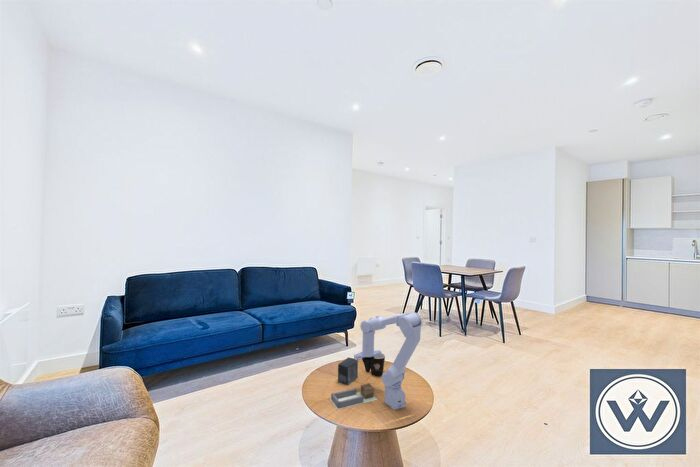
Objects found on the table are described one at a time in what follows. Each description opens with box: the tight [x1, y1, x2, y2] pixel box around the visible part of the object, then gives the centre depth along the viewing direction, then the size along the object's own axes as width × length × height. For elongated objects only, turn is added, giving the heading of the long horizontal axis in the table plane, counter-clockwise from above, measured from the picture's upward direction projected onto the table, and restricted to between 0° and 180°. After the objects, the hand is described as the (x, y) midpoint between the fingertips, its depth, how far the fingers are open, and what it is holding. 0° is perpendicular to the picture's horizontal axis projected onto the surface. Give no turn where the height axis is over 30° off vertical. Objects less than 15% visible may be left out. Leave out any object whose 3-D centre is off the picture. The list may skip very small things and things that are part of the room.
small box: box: [337, 357, 359, 386], centre depth 157 cm, size 11×6×10 cm, turn 149°
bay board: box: [329, 388, 378, 410], centre depth 138 cm, size 9×20×4 cm, turn 116°
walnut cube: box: [360, 382, 375, 399], centre depth 141 cm, size 4×4×4 cm
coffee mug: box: [370, 352, 386, 377], centre depth 167 cm, size 12×9×10 cm
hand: (367, 371), depth 148 cm, fingers closed
